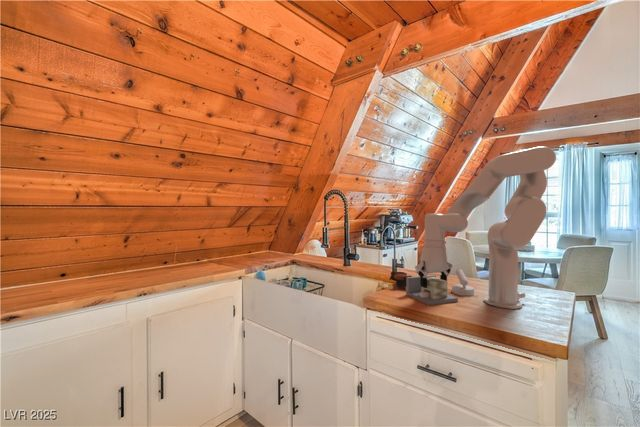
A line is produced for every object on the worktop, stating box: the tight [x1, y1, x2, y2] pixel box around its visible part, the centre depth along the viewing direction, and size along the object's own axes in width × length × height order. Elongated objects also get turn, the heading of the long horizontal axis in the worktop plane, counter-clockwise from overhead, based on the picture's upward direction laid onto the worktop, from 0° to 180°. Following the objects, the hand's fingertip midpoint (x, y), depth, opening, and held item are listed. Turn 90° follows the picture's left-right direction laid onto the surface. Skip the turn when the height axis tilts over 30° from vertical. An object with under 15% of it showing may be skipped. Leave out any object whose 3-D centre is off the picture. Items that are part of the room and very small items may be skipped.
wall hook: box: [451, 268, 475, 297], centre depth 128 cm, size 9×10×10 cm
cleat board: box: [405, 274, 459, 306], centre depth 119 cm, size 14×14×8 cm
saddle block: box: [421, 276, 448, 299], centre depth 117 cm, size 6×8×6 cm
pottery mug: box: [389, 271, 413, 290], centre depth 135 cm, size 12×10×8 cm
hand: (433, 286), depth 117 cm, fingers open, 9 cm apart
